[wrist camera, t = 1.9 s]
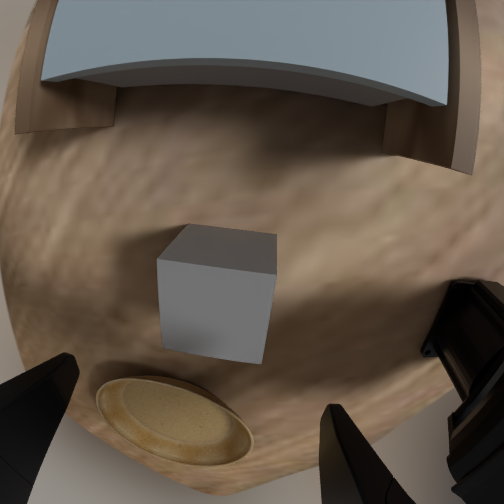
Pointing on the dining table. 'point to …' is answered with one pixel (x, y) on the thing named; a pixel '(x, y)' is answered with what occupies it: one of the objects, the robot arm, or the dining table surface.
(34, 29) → the frame
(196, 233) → the grey cube
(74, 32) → the trapdoor
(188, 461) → the plant saucer
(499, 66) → the dining table surface
